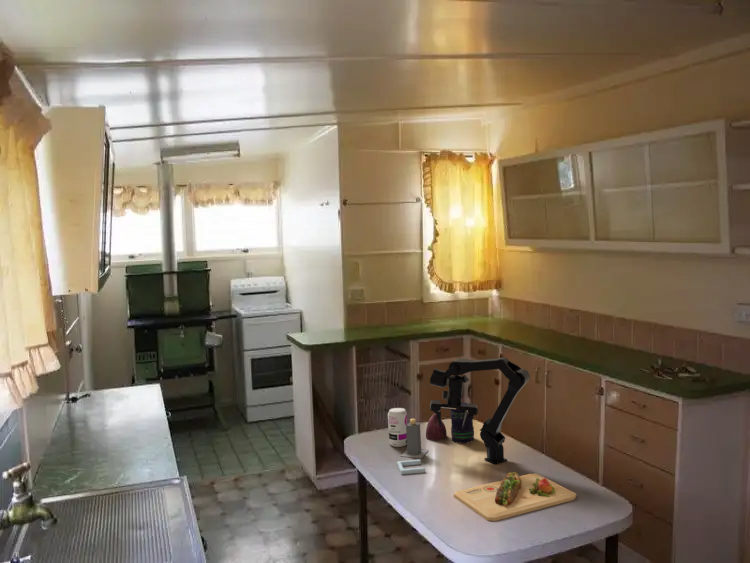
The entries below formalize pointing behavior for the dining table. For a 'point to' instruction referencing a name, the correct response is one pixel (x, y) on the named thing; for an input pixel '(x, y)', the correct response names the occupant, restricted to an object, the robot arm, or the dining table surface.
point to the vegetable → (435, 429)
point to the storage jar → (457, 424)
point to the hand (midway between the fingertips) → (451, 427)
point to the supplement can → (397, 427)
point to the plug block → (413, 437)
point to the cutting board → (513, 496)
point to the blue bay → (412, 470)
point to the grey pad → (415, 455)
